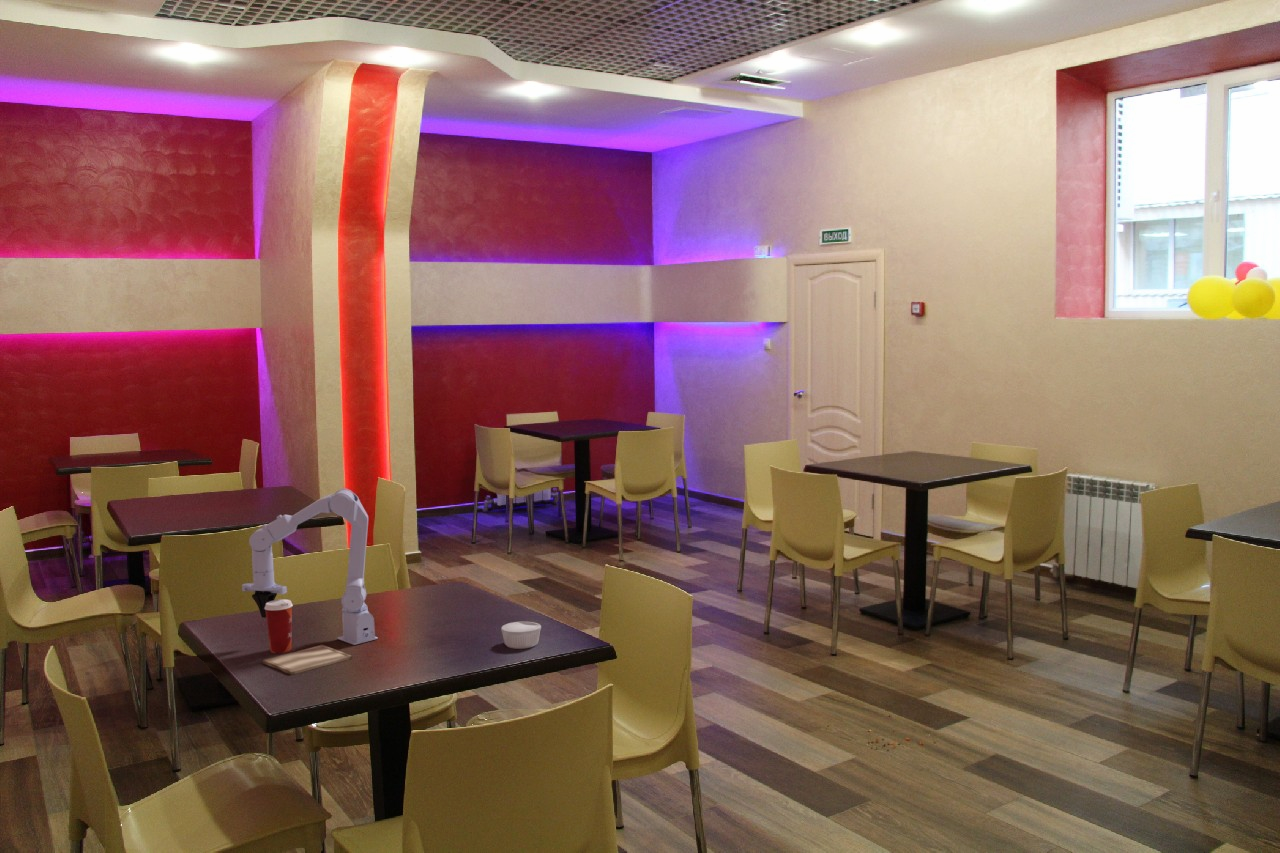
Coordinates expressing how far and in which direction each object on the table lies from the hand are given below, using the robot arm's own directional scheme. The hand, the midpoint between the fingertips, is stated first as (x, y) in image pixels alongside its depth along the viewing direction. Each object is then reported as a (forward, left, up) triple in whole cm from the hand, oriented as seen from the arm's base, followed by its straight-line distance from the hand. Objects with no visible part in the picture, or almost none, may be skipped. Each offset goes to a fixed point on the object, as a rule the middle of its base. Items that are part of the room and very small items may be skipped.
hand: (265, 616), depth 303 cm
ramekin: (-57, -48, -9) cm, 75 cm away
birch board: (-23, 0, -8) cm, 25 cm away
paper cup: (-8, 0, -9) cm, 12 cm away
